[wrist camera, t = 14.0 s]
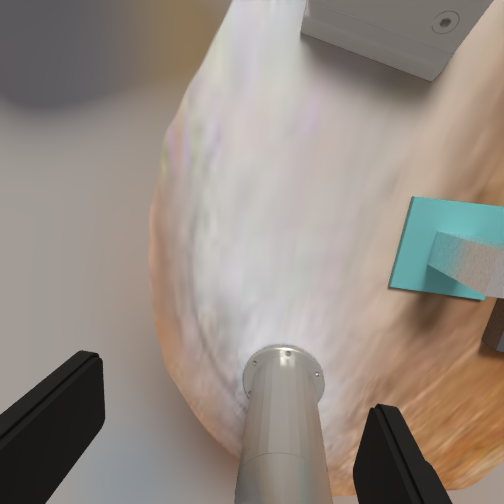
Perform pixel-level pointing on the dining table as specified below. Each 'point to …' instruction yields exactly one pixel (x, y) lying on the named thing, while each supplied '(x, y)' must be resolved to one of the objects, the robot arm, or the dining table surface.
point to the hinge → (396, 29)
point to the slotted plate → (496, 327)
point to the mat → (423, 235)
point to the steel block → (470, 261)
